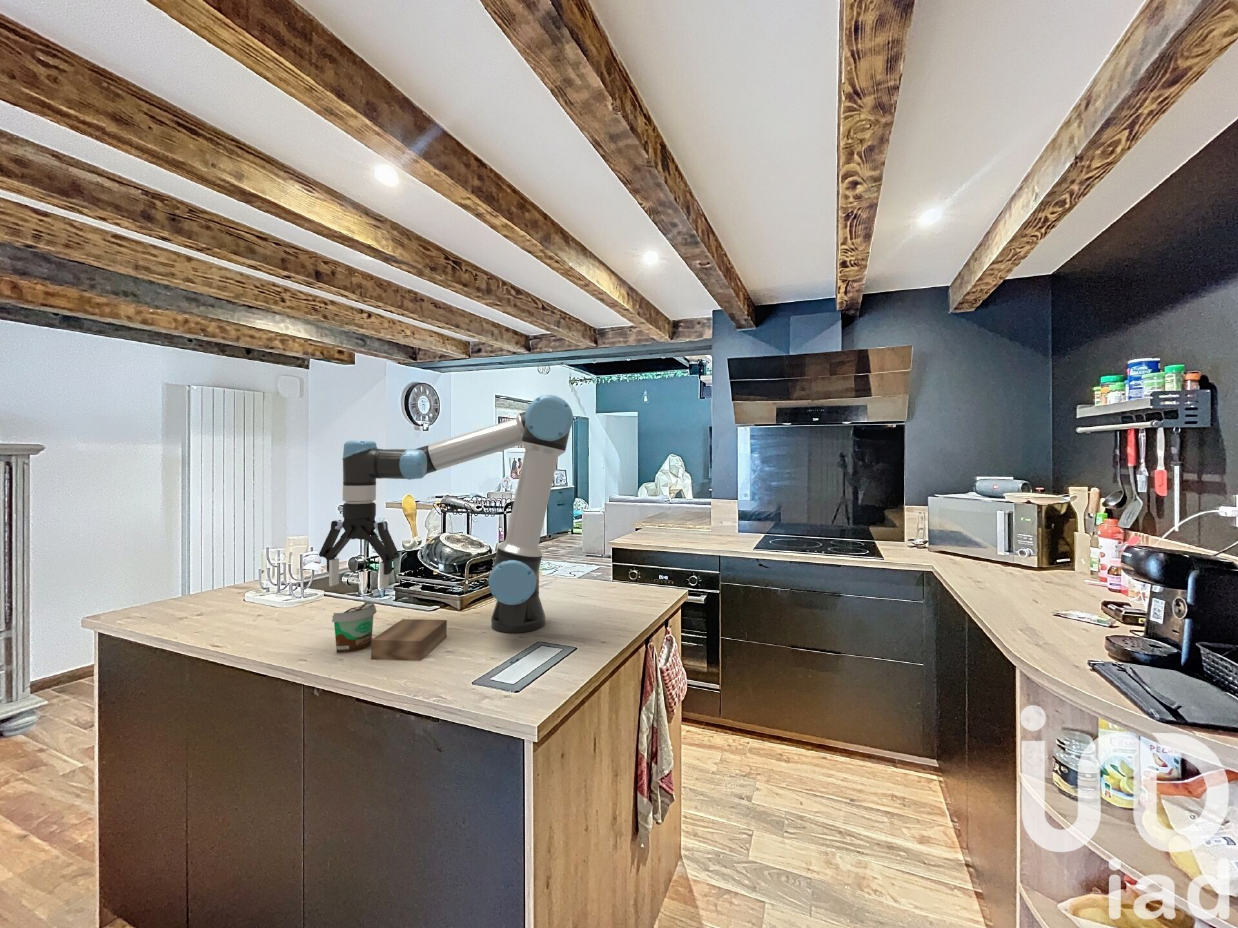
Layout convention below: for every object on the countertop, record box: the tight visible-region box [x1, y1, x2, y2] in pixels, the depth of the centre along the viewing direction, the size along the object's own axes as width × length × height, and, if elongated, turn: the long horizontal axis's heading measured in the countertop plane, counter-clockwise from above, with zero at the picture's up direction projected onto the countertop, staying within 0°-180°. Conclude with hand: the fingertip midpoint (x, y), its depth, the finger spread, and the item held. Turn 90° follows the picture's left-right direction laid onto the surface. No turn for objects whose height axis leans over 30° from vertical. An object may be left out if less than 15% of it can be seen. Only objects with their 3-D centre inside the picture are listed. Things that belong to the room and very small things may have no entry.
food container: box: [331, 600, 377, 654], centre depth 133 cm, size 12×6×10 cm, turn 168°
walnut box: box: [370, 618, 448, 661], centre depth 132 cm, size 12×16×5 cm
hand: (358, 586), depth 133 cm, fingers open, 13 cm apart
